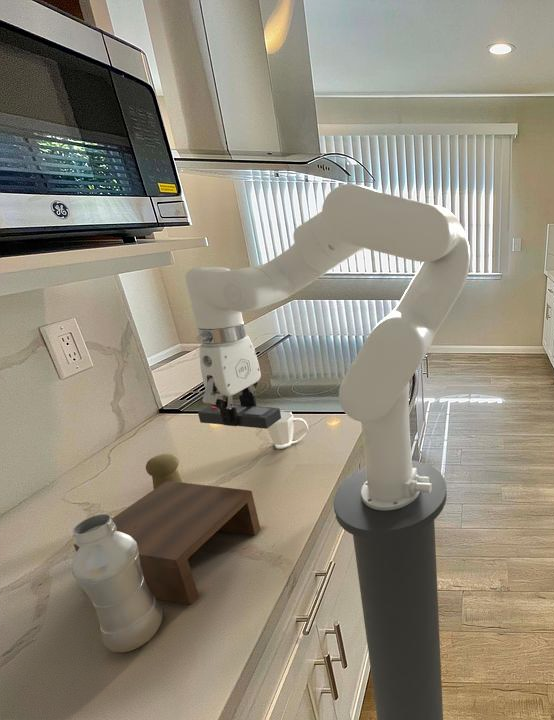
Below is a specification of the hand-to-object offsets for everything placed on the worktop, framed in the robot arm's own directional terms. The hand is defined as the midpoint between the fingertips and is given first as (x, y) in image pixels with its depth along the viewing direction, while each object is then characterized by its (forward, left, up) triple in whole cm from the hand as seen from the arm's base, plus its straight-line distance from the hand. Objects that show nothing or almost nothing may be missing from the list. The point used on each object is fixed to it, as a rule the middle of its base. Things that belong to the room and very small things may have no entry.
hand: (241, 417), depth 81 cm
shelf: (0, +19, -17) cm, 26 cm away
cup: (+4, -18, -18) cm, 25 cm away
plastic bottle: (-6, +32, -18) cm, 37 cm away
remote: (0, 0, -1) cm, 1 cm away
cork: (+14, +7, -18) cm, 23 cm away
